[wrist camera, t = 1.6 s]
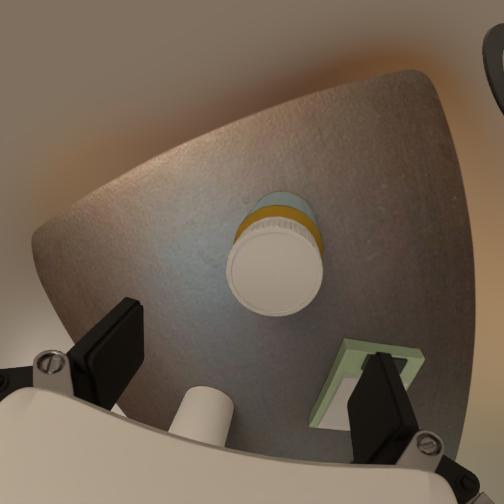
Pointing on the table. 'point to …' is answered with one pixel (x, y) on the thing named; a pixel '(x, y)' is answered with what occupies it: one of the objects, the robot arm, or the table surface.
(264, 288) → the bottle
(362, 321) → the table surface
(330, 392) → the scale
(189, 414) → the cup
